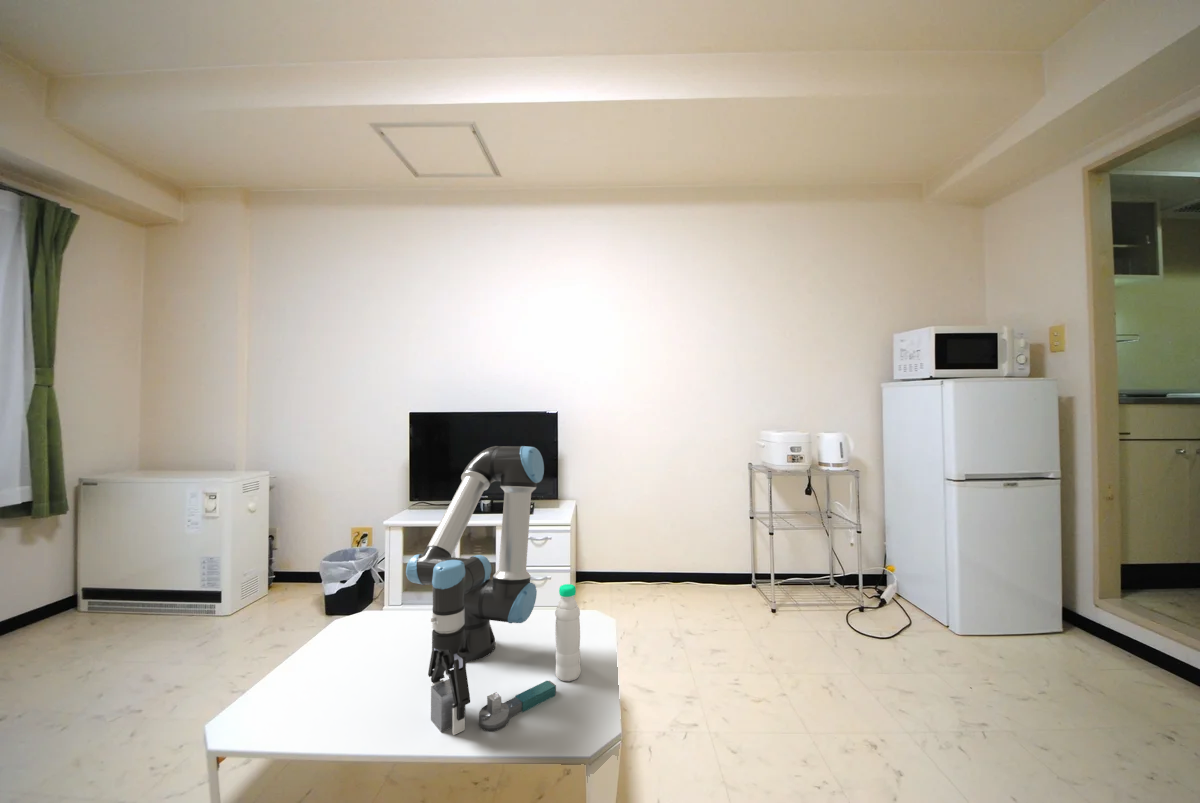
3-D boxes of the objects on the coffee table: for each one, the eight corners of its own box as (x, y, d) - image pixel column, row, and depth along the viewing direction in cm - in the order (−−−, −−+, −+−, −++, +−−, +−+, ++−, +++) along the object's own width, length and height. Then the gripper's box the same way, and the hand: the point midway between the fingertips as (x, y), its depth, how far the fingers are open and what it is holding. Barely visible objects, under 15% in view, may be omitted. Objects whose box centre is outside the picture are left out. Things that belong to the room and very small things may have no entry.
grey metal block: (430, 720, 110) (431, 686, 111) (454, 709, 114) (454, 676, 115) (441, 732, 106) (441, 697, 106) (465, 720, 110) (465, 686, 110)
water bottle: (577, 683, 125) (576, 591, 126) (552, 681, 126) (551, 589, 128) (583, 669, 132) (582, 582, 133) (559, 667, 133) (559, 581, 134)
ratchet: (488, 736, 105) (488, 709, 105) (473, 721, 110) (474, 696, 110) (560, 697, 119) (560, 674, 119) (544, 686, 124) (544, 664, 124)
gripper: (414, 617, 117) (414, 704, 116) (455, 649, 100) (454, 753, 99) (443, 608, 122) (442, 692, 121) (485, 638, 105) (485, 736, 104)
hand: (447, 719), depth 110 cm, fingers open, 11 cm apart
